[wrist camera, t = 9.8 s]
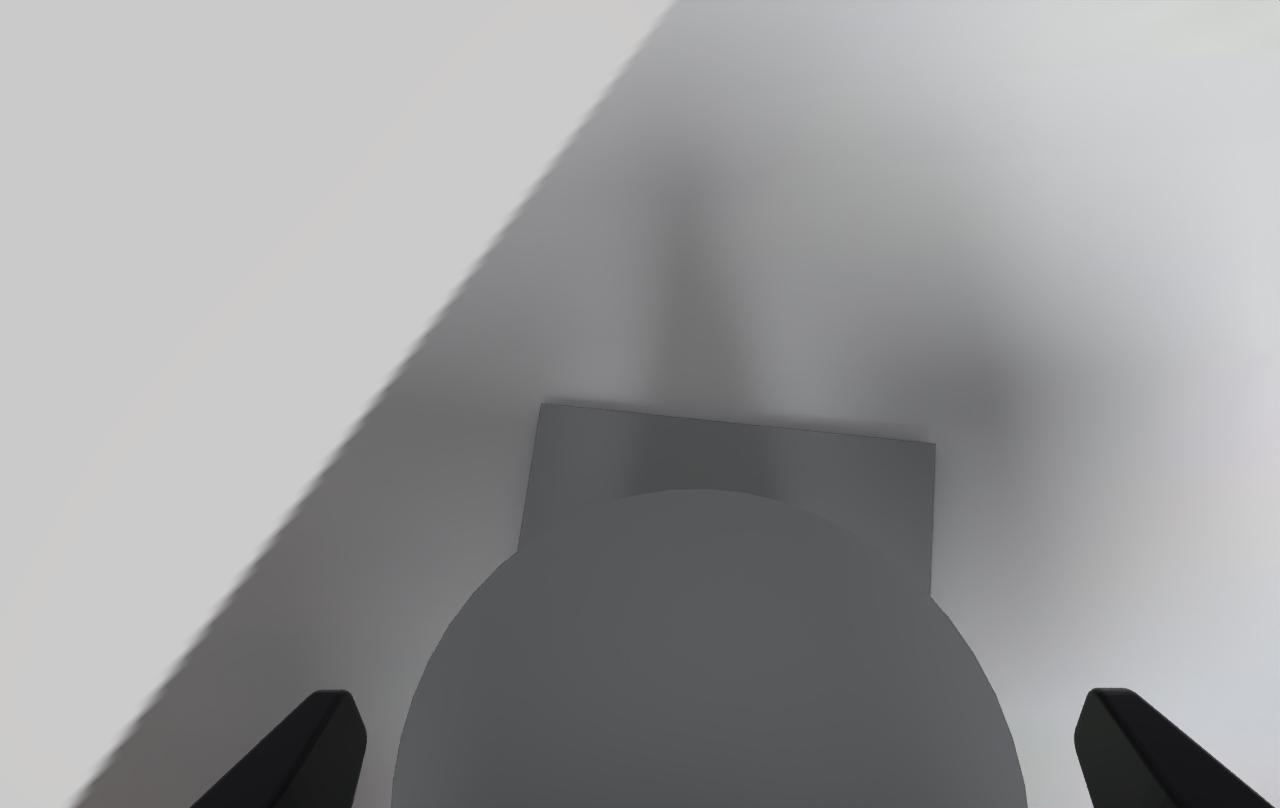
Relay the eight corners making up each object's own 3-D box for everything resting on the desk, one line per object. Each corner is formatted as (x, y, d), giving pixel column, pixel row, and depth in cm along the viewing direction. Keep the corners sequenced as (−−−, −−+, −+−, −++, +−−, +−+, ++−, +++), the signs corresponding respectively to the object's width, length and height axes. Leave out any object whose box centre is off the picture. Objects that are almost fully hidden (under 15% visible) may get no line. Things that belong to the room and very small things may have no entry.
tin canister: (848, 767, 17) (1135, 1123, 5) (623, 814, 17) (434, 1258, 6) (788, 538, 18) (914, 431, 7) (581, 585, 18) (358, 558, 7)
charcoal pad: (909, 989, 16) (915, 1002, 16) (465, 906, 17) (458, 916, 17) (929, 447, 19) (935, 443, 19) (545, 407, 20) (541, 403, 20)
